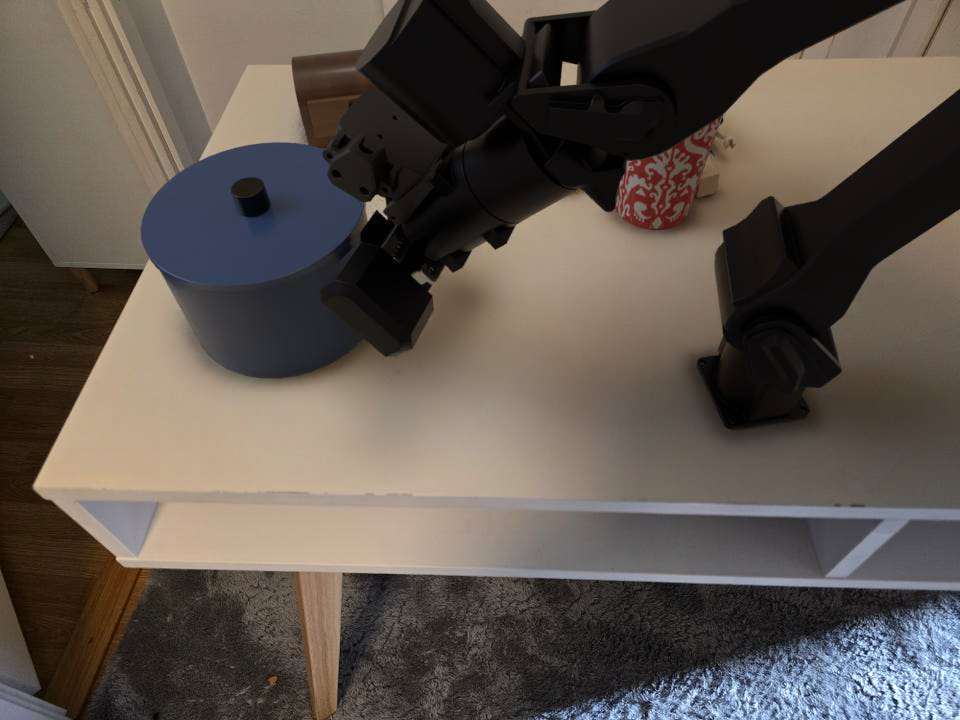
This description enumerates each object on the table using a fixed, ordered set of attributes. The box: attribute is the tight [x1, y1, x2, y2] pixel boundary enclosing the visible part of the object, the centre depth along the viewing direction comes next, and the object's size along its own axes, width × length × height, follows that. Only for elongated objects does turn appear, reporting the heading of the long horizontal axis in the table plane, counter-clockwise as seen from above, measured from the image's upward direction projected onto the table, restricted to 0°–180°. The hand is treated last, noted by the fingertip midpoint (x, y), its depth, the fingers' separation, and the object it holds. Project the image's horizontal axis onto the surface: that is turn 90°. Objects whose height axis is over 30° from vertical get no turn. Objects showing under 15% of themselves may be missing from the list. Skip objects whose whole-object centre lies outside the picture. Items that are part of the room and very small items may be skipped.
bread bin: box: [291, 48, 380, 149], centre depth 72 cm, size 8×14×8 cm, turn 100°
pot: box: [140, 141, 369, 379], centre depth 54 cm, size 16×16×12 cm
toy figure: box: [695, 112, 737, 198], centre depth 69 cm, size 7×6×15 cm
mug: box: [614, 114, 724, 230], centre depth 61 cm, size 13×9×14 cm
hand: (359, 269), depth 51 cm, fingers closed, pressing on pot
